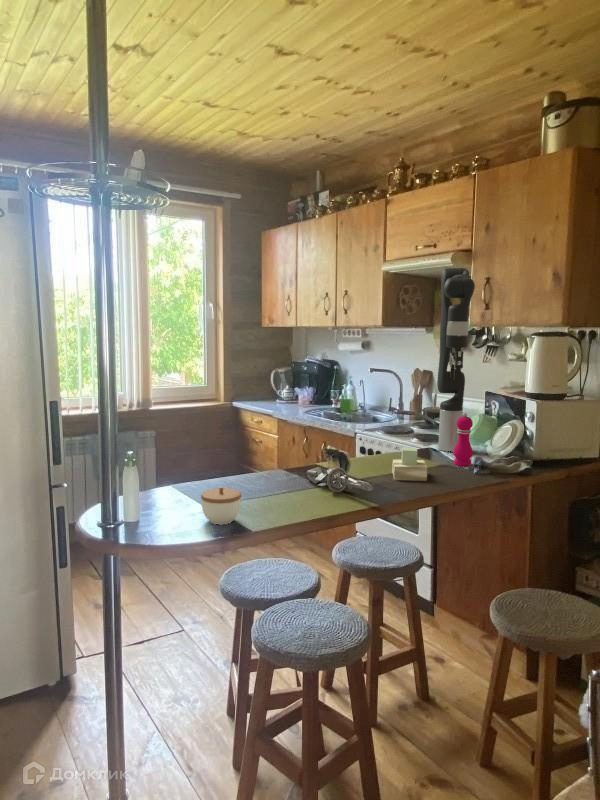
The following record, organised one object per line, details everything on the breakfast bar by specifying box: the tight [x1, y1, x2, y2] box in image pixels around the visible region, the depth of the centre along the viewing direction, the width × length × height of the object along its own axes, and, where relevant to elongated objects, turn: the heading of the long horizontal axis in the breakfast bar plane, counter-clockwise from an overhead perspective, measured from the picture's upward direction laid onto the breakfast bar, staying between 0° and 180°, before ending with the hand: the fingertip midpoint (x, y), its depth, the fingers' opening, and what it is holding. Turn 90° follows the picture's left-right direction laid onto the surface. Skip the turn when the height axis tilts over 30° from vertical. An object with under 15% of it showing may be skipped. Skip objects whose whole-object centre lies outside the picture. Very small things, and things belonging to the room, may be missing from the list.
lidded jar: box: [200, 486, 242, 526], centre depth 161 cm, size 11×11×9 cm
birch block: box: [391, 458, 428, 482], centre depth 210 cm, size 11×11×5 cm
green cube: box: [401, 446, 418, 465], centre depth 210 cm, size 5×5×5 cm
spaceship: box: [306, 466, 374, 493], centre depth 190 cm, size 8×35×8 cm
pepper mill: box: [452, 411, 474, 467], centre depth 227 cm, size 7×7×20 cm
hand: (455, 378), depth 219 cm, fingers open, 8 cm apart
